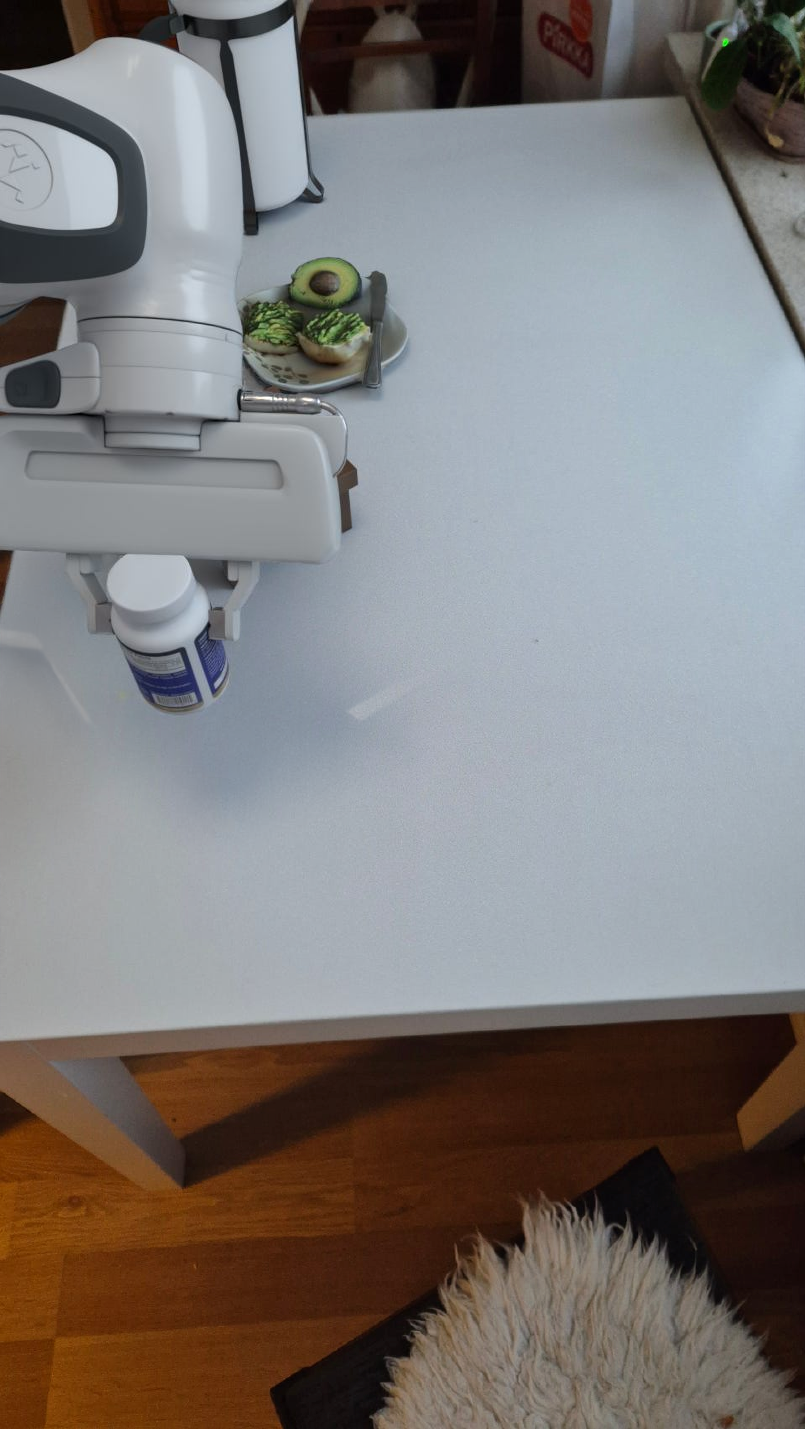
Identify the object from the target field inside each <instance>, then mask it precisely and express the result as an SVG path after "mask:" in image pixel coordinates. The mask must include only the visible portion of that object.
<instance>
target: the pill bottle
mask: <svg viewBox="0 0 805 1429" xmlns="http://www.w3.org/2000/svg"><path fill="white" fill-rule="evenodd" d="M187 559H188V558H185V557H184V556H182V555H147V554H126V555H125V556H124V555H122V556H121V557H120V558H119V559H118V560H117V561H116V562H115V563H114V564H113V566H111V568H110V570H109V572H108V574H107V579H106V591H107V595H108V598H109V599H110V602H112V604H113V605H112V609H111V624H112V627H113V630H114V633H115V635H114V636H115V638H116V640H117V642H118V644H119V646H120V648H121V652H122V653H123V655H124V657H125V660H126V662H127V664H128V667H129V669H130V672H131V673H132V676H133V679H134V680H135V683H136V685H137V687H138V690H139V692H140V694H141V695H142V697H143V699H144V700H145V701H146V703H147V704H149V706H151V707H152V708H153V709H155V710H157V711H159V712H161V713H163V714H168V715H172V716H186V715H192V714H195V713H198V712H202V711H203V710H206V709H208V708H209V707H211V706H212V705H214V704H215V703H216V702H217V701H218V700H219V699H220V698H221V697H222V695H223V694H224V693H225V691H226V689H227V687H228V684H229V681H230V675H231V669H230V663H229V659H228V656H227V653H226V650H225V645H224V643H223V642H224V641H220V640H210V639H209V635H208V629H209V628H210V626H211V625H210V623H209V622H208V610H210V609H213V607H212V603H211V600H210V597H209V595H208V592H207V590H206V589H205V587H204V586H203V585H202V584H201V583H200V582H199V581H198V580H197V579H196V578H195V575H194V572H193V570H192V567H191V564H190V562H189V561H188V560H187Z"/></svg>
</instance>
